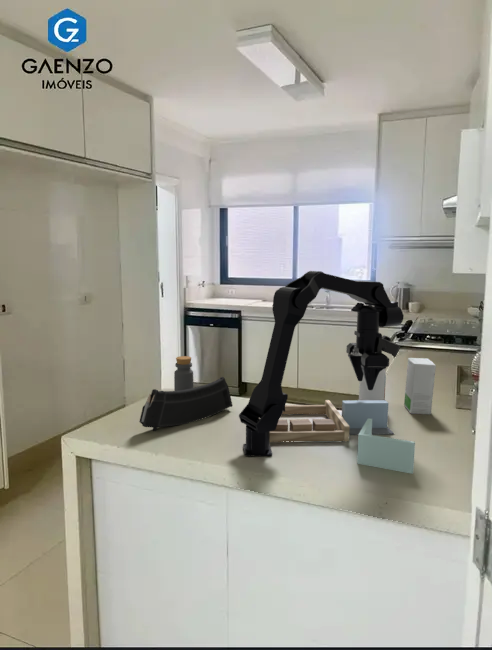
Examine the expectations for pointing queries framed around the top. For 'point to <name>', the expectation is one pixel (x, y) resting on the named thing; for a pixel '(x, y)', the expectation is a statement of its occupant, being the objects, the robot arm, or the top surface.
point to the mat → (374, 431)
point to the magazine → (185, 404)
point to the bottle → (183, 374)
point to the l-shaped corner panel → (384, 451)
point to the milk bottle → (378, 388)
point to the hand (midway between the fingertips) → (365, 385)
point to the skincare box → (419, 385)
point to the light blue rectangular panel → (365, 413)
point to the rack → (336, 435)
